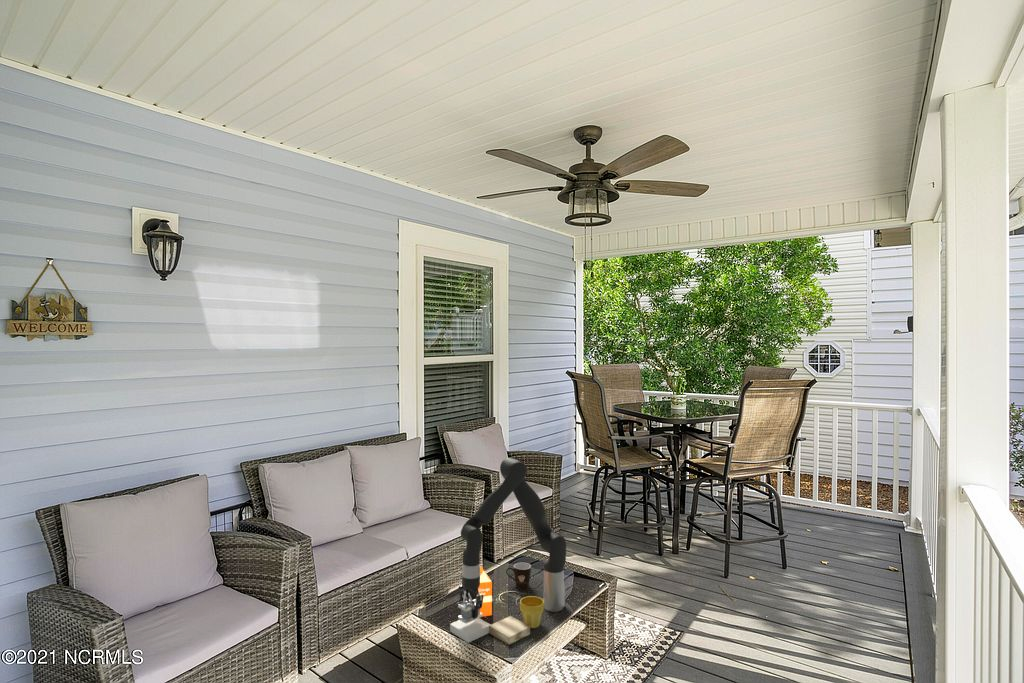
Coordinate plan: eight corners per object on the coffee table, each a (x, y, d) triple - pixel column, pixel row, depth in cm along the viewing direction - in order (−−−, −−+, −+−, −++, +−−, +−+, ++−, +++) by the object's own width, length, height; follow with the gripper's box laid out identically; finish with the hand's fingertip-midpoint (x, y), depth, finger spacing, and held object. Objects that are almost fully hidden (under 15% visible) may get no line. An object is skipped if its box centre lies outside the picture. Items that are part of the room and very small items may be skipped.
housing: (475, 611, 227) (475, 597, 227) (482, 616, 223) (482, 601, 223) (458, 619, 221) (458, 604, 221) (465, 623, 217) (465, 608, 217)
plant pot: (529, 615, 236) (529, 593, 236) (548, 623, 229) (549, 600, 229) (514, 625, 228) (514, 601, 228) (534, 633, 221) (534, 609, 221)
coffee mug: (534, 585, 266) (534, 565, 266) (525, 591, 259) (525, 571, 259) (514, 579, 272) (514, 559, 272) (505, 586, 265) (505, 565, 265)
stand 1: (472, 621, 231) (472, 614, 231) (490, 632, 222) (490, 624, 222) (450, 631, 222) (450, 623, 222) (468, 642, 214) (468, 635, 214)
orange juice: (486, 605, 244) (486, 561, 245) (492, 615, 236) (492, 569, 236) (469, 608, 242) (470, 563, 242) (474, 617, 233) (475, 571, 234)
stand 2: (510, 622, 229) (510, 615, 229) (530, 633, 221) (530, 626, 221) (489, 633, 221) (489, 625, 221) (508, 644, 212) (509, 637, 212)
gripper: (489, 576, 220) (488, 618, 219) (467, 566, 230) (466, 606, 230) (475, 582, 215) (474, 625, 214) (453, 571, 225) (452, 612, 225)
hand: (470, 615), depth 222 cm, fingers closed on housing, 5 cm apart
